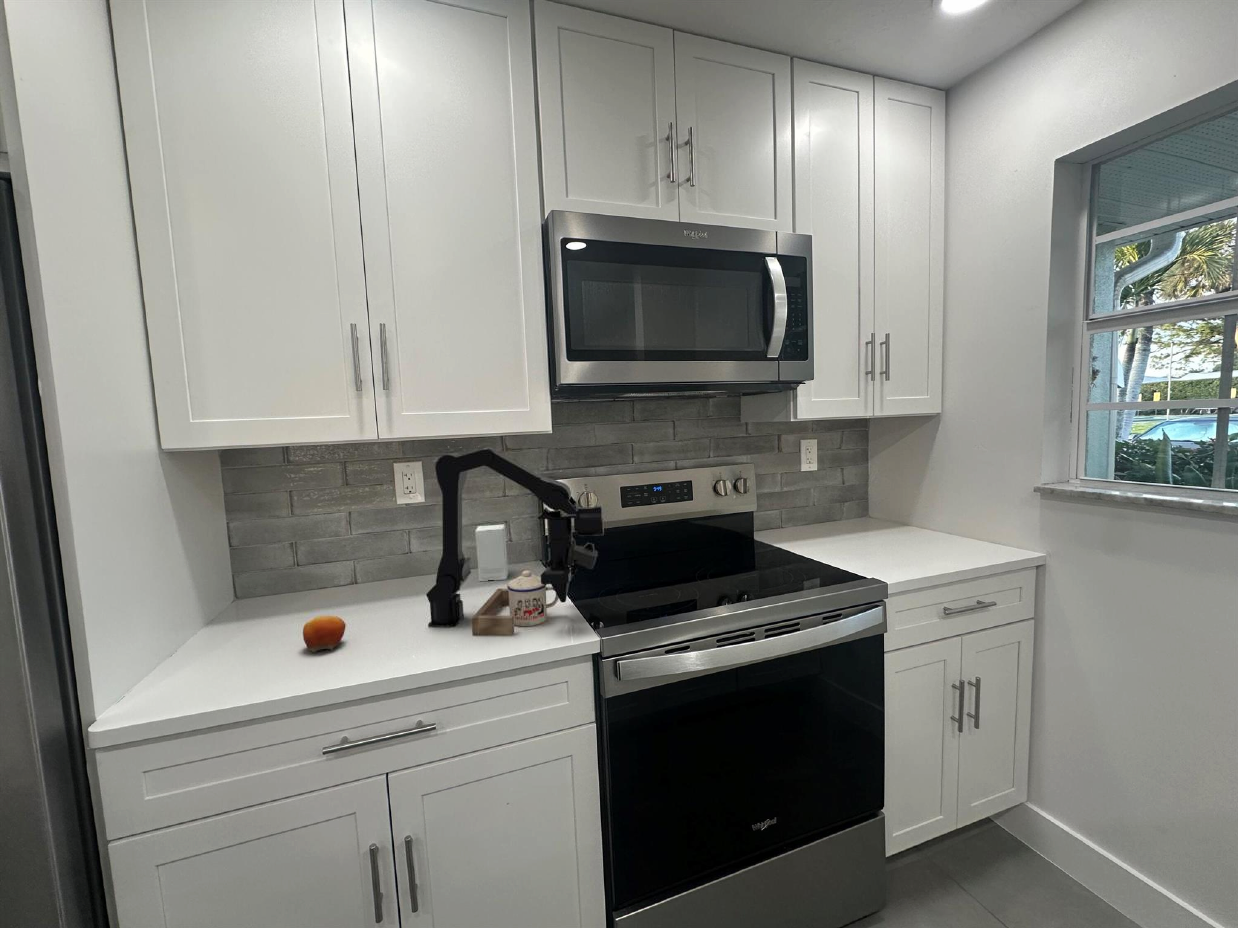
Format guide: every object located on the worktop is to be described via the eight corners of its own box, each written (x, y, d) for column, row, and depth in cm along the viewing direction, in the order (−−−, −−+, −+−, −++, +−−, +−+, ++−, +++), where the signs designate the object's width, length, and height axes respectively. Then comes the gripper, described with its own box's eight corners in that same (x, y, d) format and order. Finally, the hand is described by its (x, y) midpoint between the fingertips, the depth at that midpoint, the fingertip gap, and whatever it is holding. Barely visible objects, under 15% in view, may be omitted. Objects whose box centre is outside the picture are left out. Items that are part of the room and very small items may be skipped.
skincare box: (508, 573, 166) (506, 523, 164) (506, 580, 159) (504, 528, 158) (480, 575, 165) (477, 525, 164) (477, 582, 158) (474, 529, 157)
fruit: (299, 655, 109) (299, 615, 112) (305, 661, 116) (305, 623, 119) (344, 647, 112) (343, 608, 115) (347, 653, 119) (346, 616, 122)
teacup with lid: (511, 629, 123) (509, 579, 122) (507, 615, 131) (504, 568, 130) (563, 622, 126) (561, 573, 125) (555, 609, 135) (554, 563, 134)
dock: (472, 635, 120) (471, 618, 120) (498, 603, 140) (497, 588, 139) (512, 635, 119) (511, 617, 119) (533, 603, 139) (532, 588, 139)
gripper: (589, 545, 117) (592, 616, 118) (598, 527, 135) (601, 588, 137) (538, 547, 118) (542, 616, 119) (554, 528, 136) (557, 589, 138)
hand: (563, 601), depth 128 cm, fingers closed
